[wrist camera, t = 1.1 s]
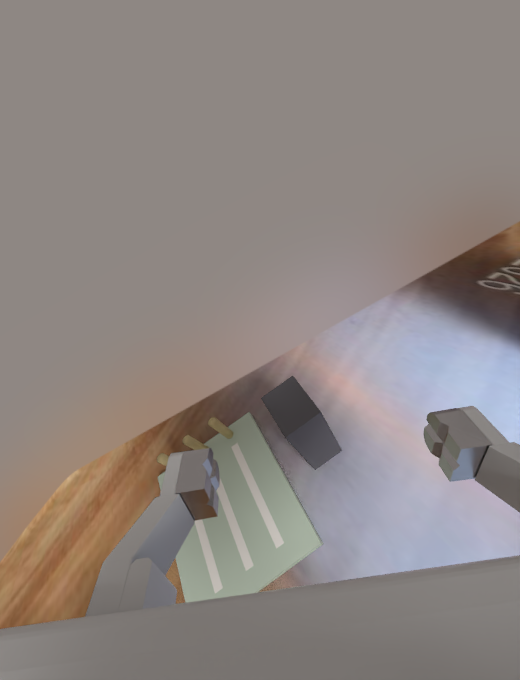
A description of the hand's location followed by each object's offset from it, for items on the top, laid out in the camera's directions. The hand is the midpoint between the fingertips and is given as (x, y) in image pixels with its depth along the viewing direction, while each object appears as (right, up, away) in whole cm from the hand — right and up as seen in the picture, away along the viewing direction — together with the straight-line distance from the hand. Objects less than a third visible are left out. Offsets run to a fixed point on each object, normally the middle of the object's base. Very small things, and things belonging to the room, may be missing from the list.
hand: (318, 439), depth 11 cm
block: (+5, -9, +26) cm, 28 cm away
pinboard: (-6, -17, +26) cm, 31 cm away
